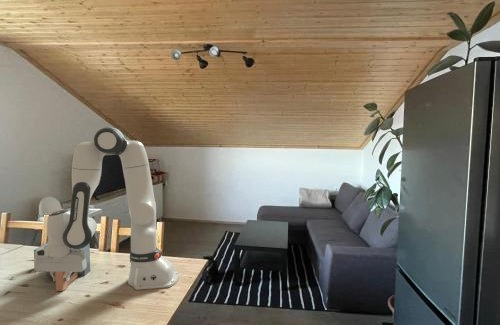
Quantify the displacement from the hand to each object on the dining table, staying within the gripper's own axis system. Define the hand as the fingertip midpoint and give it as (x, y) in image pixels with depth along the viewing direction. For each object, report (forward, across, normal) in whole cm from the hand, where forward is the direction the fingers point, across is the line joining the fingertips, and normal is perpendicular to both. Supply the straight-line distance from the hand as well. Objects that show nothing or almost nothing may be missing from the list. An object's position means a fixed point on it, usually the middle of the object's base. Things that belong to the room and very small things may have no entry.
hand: (61, 280), depth 126 cm
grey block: (+4, +6, -12) cm, 14 cm away
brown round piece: (+4, +6, -8) cm, 12 cm away
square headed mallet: (+4, 0, -5) cm, 6 cm away
